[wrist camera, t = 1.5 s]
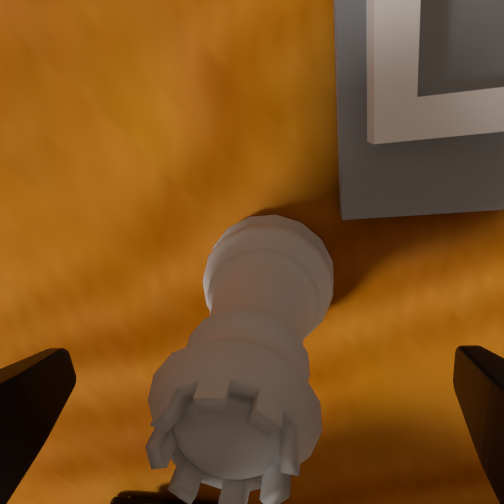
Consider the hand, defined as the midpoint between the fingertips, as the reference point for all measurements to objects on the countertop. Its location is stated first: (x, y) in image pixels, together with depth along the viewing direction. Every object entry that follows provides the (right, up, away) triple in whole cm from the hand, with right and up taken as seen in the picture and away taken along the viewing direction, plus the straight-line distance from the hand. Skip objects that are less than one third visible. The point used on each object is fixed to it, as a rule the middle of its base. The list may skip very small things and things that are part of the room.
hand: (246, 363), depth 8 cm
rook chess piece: (+1, +2, +5) cm, 6 cm away
